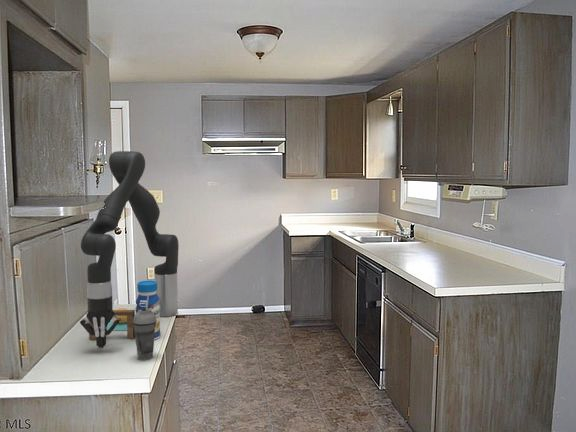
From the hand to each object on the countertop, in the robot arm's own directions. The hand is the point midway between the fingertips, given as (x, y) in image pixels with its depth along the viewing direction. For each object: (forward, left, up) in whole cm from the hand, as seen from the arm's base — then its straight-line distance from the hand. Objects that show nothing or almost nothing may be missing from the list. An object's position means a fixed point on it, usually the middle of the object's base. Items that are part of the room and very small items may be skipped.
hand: (101, 347), depth 157 cm
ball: (-30, -1, +2) cm, 30 cm away
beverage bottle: (-13, +12, -2) cm, 18 cm away
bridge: (-13, 0, -2) cm, 13 cm away
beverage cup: (+6, +15, -2) cm, 17 cm away
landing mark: (-27, 0, -2) cm, 27 cm away
